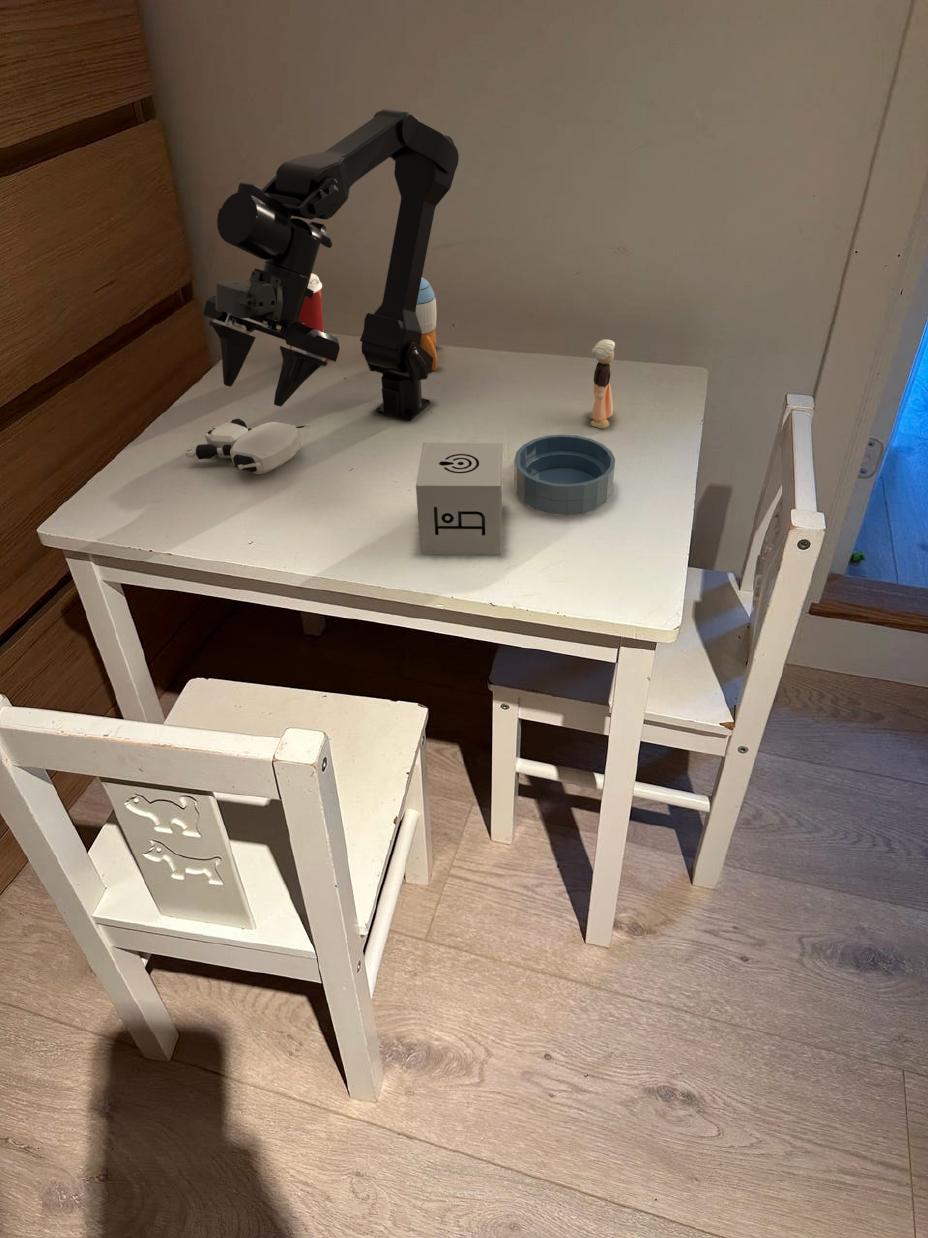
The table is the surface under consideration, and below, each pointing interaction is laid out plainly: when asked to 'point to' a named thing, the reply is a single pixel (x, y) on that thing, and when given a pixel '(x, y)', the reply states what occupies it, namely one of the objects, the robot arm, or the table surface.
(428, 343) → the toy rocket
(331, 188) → the robot arm
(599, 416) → the grandmother figurine
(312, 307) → the paper cup
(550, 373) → the table surface
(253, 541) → the table surface
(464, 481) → the icon cube
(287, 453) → the robot toy
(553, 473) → the blue pet bowl
